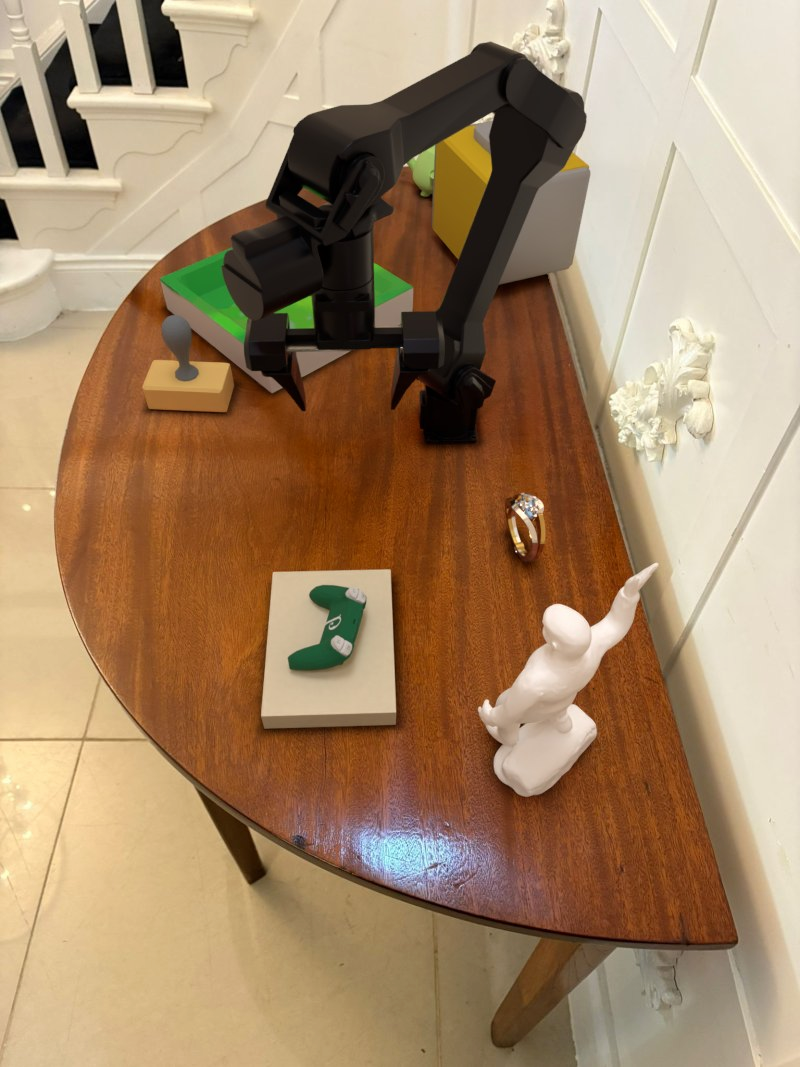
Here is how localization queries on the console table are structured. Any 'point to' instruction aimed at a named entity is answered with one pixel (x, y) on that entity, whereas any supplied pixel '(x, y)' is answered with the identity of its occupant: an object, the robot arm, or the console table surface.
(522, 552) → the ring
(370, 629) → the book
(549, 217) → the alarm clock
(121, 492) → the console table surface
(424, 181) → the teapot
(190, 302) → the tray
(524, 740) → the figurine
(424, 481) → the console table surface
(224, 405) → the rubber stamp
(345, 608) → the green curved piece
